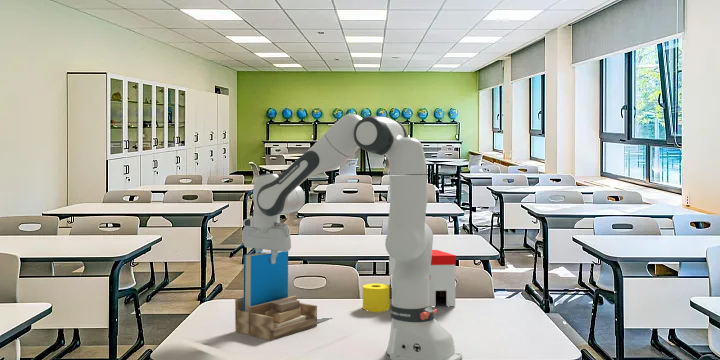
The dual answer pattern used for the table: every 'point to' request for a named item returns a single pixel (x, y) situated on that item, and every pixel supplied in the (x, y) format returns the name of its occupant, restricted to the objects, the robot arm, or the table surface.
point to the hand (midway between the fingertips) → (266, 262)
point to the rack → (270, 320)
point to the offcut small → (284, 305)
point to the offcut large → (290, 321)
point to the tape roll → (376, 297)
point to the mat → (322, 320)
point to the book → (264, 278)
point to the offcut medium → (284, 315)
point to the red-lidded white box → (439, 276)
